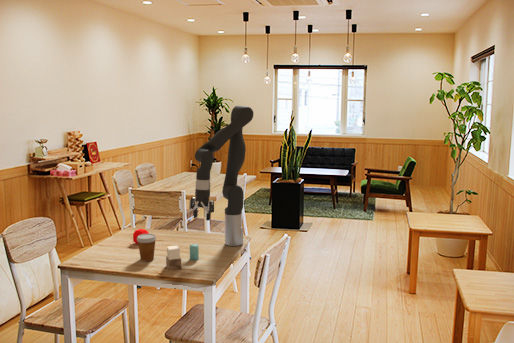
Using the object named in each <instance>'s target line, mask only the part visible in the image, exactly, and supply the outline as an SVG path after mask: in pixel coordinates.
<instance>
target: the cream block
mask: <svg viewBox="0 0 514 343" xmlns="http://www.w3.org/2000/svg"><path fill="white" fill-rule="evenodd" d="M166 254H167V255H166V256H167V257H168V259H169V260H173V259H180V258H181V256H180V255H181V251H180V247H179V246H178V245H169V246H167V247H166Z"/></svg>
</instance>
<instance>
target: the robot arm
mask: <svg viewBox="0 0 514 343" xmlns="http://www.w3.org/2000/svg"><path fill="white" fill-rule="evenodd" d="M253 118H254V110H253V109H252V107H250V106H247V105H235V106H234V107H233V108H232V110H231V114H230V123H229V124H227V125H226V126H224V127H222V128H221V129H220V130H218V131H217V132H216V133H215V134H214V135H213V136H212V137H211V138H210V139H209V140H208V141H207V142H205V143H204V144H202V145H201V146H200V147H199V148H197V149H196V150H195V151H196V152H194V159H195V161H196V162H198V163H200V164H199V165H200V166H199V167H198V168H196V173H195V174H196V176H195V178H196V180H195V193H194V195H195V196H194V197H191V198H190V207H189V209H191V210H192V211H193V212H192V215H193V218H194V219H196V218H198V213H199V211H198V209H199V208H201V209H203V210H205V212H206V214H205V216H206V217H205V220H206V221H207V222H208V221H211V214H212V213H214V212H215V201H214V200H210V197H211V170H212V167H213V164H214V153H215V152H218V151H220V150H221V149H222V147H224V145H225V144H226V143H227V142H228V141H229V145H228V151H227V161H226V167H225V168H226V171H225V177H224V180H223V186H222V191H221V192H222V196H223V198H224V199H225V200H227V207H225V208H224V244H226V245H225V246H227V245H228V247H240V246H241V245H244V227H243V226H242V225H243V212H242V211H243V209H244V197H245V196H244V190H243V188H242V187H241V186H240V185H238V177H239V173H240V172H241V169H242V167H243V165H244V163H245V159H246V152H247V151H246V150H247V149H246V143H245V140H244V135H243V128H244V127H245V126H247V125H248V124H249V123H250V122H252V120H253Z"/></svg>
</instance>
